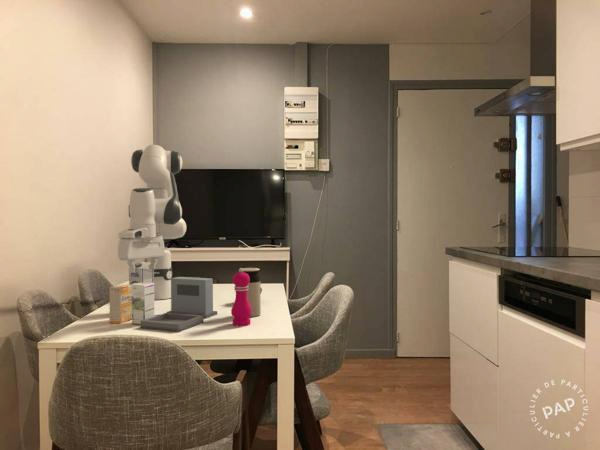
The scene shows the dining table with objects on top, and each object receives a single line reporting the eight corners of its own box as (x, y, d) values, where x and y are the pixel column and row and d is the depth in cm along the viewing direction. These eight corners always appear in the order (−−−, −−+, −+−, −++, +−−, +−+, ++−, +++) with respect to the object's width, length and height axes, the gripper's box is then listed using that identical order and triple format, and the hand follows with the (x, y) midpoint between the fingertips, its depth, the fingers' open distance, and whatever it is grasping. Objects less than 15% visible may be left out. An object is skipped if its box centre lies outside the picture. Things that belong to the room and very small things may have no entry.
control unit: (166, 315, 170) (166, 278, 170) (179, 311, 178) (179, 276, 178) (205, 318, 164) (205, 280, 164) (217, 314, 171) (217, 278, 171)
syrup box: (155, 321, 159) (155, 282, 159) (144, 325, 153) (144, 284, 153) (142, 320, 161) (142, 281, 160) (131, 324, 155) (131, 283, 155)
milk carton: (154, 310, 179) (154, 262, 179) (142, 313, 173) (141, 263, 173) (141, 309, 182) (140, 261, 182) (128, 312, 176) (128, 262, 176)
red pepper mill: (232, 322, 158) (231, 266, 158) (252, 321, 159) (251, 266, 158) (230, 326, 151) (230, 269, 151) (251, 326, 151) (251, 268, 151)
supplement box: (121, 323, 156) (120, 287, 156) (109, 323, 157) (108, 287, 157) (134, 318, 164) (133, 284, 164) (122, 318, 165) (122, 283, 165)
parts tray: (140, 327, 150) (140, 320, 150) (167, 319, 163) (167, 312, 163) (179, 332, 144) (179, 324, 144) (203, 322, 157) (203, 315, 157)
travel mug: (252, 318, 164) (251, 270, 163) (235, 316, 168) (235, 269, 168) (264, 314, 170) (264, 268, 170) (248, 312, 175) (248, 267, 174)
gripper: (155, 232, 167) (155, 268, 167) (114, 233, 148) (115, 274, 148) (168, 232, 165) (169, 268, 165) (129, 233, 146) (129, 274, 146)
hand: (143, 271), depth 157 cm, fingers open, 8 cm apart
